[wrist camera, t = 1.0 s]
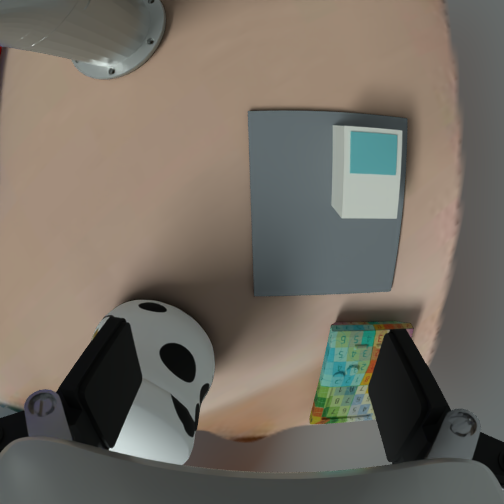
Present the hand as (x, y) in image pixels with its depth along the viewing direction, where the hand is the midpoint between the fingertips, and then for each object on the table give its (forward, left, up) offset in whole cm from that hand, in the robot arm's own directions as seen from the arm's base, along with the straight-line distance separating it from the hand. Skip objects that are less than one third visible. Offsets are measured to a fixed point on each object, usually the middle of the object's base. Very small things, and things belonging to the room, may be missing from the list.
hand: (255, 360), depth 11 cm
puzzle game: (+27, +14, -27) cm, 40 cm away
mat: (+2, +8, -26) cm, 28 cm away
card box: (-3, +11, -26) cm, 28 cm away
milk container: (+21, -15, -27) cm, 37 cm away
